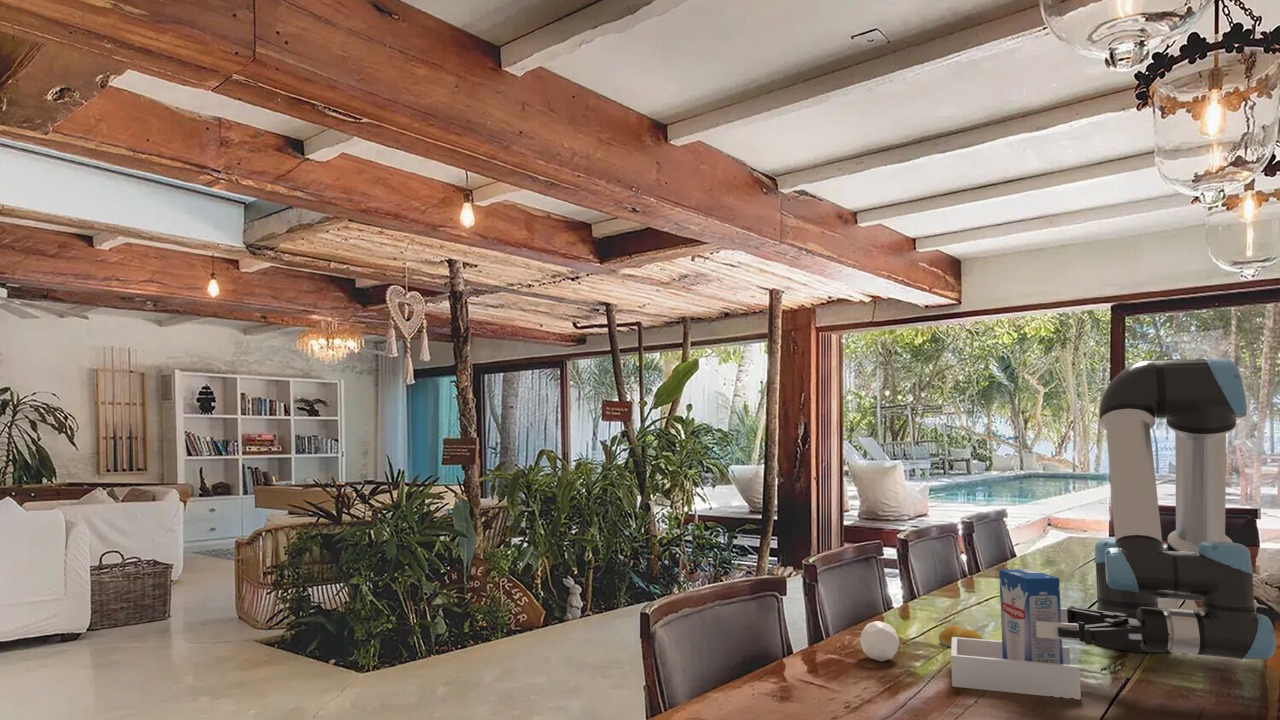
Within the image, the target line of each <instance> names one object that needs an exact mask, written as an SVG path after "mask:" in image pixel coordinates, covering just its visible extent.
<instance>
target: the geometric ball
mask: <svg viewBox="0 0 1280 720" xmlns="http://www.w3.org/2000/svg"><path fill="white" fill-rule="evenodd" d="M859 642H860V646H861V648H862V651H863V653H865V655H867V656H868V657H869V659H872V660H874V661H879V662H884V661H888V660H891V659H892V658H894V656H895V655H896V654H897V652H898V651H899V646H900V640H899V636H898V633H897V631H896V629H895V628H894V627H892V625H891V624H889V623H886V622H884V621H880V620H876V621H872V622H869V623H867V624H866V625H865V626H864V628H863V629H862V631H861V633H860V637H859Z"/></svg>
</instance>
